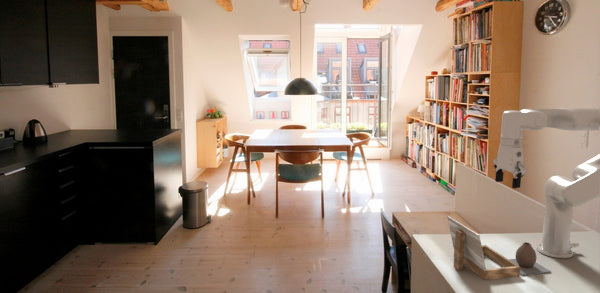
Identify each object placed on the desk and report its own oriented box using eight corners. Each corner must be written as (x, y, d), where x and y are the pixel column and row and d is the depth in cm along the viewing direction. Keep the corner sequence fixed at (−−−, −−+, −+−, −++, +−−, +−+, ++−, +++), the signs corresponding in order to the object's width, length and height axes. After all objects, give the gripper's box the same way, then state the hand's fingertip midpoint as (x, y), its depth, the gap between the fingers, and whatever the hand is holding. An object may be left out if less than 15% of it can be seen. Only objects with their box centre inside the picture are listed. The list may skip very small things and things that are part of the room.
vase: (538, 270, 154) (540, 247, 153) (517, 268, 156) (519, 246, 154) (532, 262, 161) (534, 240, 160) (512, 260, 162) (514, 239, 161)
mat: (527, 258, 165) (527, 257, 165) (551, 272, 154) (551, 271, 154) (500, 261, 163) (500, 260, 163) (522, 275, 151) (522, 274, 151)
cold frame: (485, 253, 171) (488, 212, 168) (519, 276, 151) (523, 230, 148) (441, 257, 167) (444, 216, 164) (471, 281, 148) (474, 235, 145)
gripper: (535, 145, 157) (531, 189, 160) (503, 138, 174) (500, 178, 177) (518, 146, 156) (514, 191, 159) (488, 139, 172) (485, 179, 175)
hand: (507, 184), depth 168 cm, fingers open, 9 cm apart
